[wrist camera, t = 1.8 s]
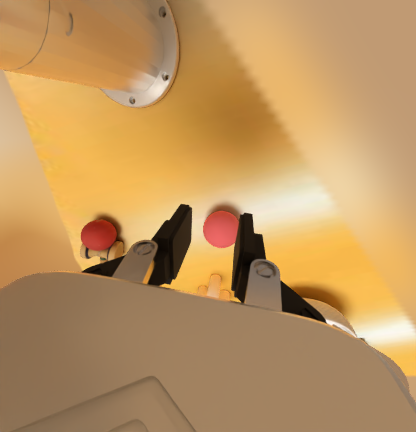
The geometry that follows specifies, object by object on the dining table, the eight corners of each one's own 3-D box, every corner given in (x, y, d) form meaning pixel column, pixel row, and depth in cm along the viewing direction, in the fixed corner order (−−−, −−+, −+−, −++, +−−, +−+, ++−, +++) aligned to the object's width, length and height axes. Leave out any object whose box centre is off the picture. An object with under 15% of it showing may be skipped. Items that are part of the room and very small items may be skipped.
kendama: (134, 274, 46) (125, 222, 35) (115, 296, 41) (98, 244, 30) (109, 262, 47) (93, 208, 36) (89, 281, 43) (63, 227, 31)
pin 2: (220, 289, 41) (215, 327, 34) (230, 291, 41) (227, 329, 33) (219, 295, 42) (213, 333, 35) (229, 297, 42) (226, 336, 35)
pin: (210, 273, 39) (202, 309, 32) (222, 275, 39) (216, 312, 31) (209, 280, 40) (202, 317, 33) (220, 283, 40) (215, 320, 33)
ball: (207, 202, 31) (200, 220, 26) (243, 207, 30) (242, 226, 25) (205, 231, 34) (198, 252, 29) (237, 236, 33) (236, 258, 28)
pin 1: (198, 285, 41) (189, 321, 34) (208, 286, 41) (201, 324, 34) (198, 291, 43) (188, 328, 35) (208, 293, 42) (200, 330, 35)
